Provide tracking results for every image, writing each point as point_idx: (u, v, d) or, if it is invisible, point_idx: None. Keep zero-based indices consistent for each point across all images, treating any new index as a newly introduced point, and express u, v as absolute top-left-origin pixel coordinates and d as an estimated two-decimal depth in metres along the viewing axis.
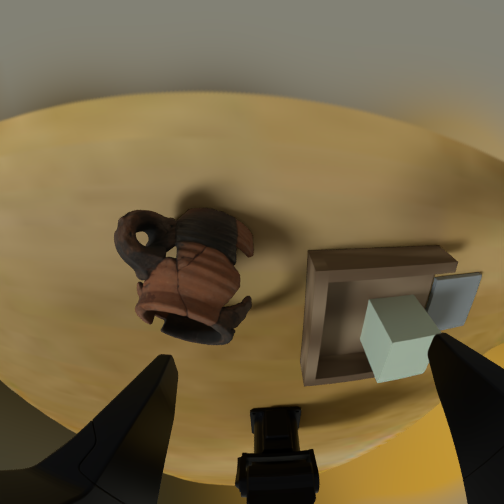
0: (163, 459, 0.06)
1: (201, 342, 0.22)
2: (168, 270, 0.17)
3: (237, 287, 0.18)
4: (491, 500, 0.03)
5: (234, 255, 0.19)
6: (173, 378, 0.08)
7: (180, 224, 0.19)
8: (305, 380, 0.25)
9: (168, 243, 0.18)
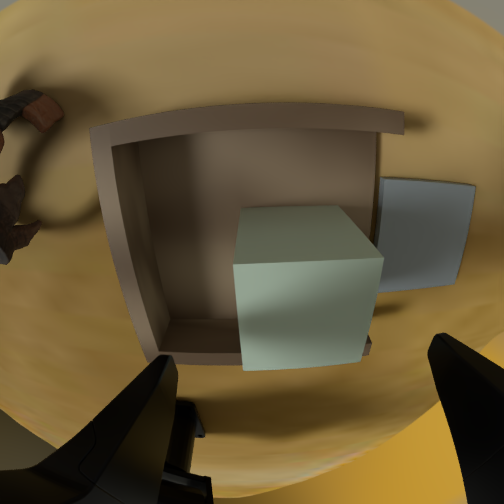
0: (163, 459, 0.06)
1: None
2: None
3: None
4: (491, 500, 0.03)
5: (6, 119, 0.09)
6: (173, 378, 0.08)
7: None
8: (144, 351, 0.15)
9: None
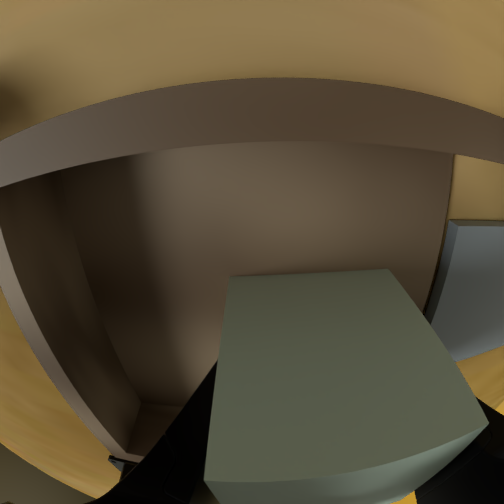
0: None
1: None
2: None
3: None
4: None
5: None
6: None
7: None
8: (109, 448, 0.09)
9: None
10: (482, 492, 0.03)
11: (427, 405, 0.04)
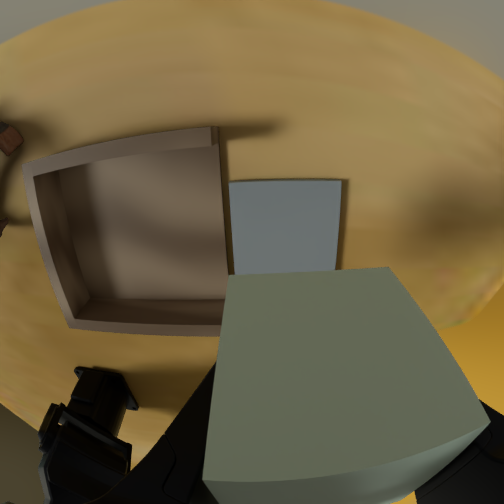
0: None
1: None
2: None
3: None
4: None
5: None
6: None
7: None
8: (66, 318, 0.18)
9: None
10: (482, 492, 0.03)
11: (428, 404, 0.04)
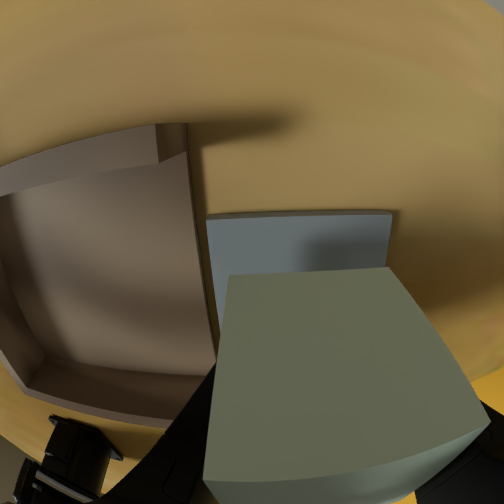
0: None
1: None
2: None
3: None
4: None
5: None
6: None
7: None
8: (18, 384, 0.12)
9: None
10: (482, 492, 0.03)
11: (428, 404, 0.04)
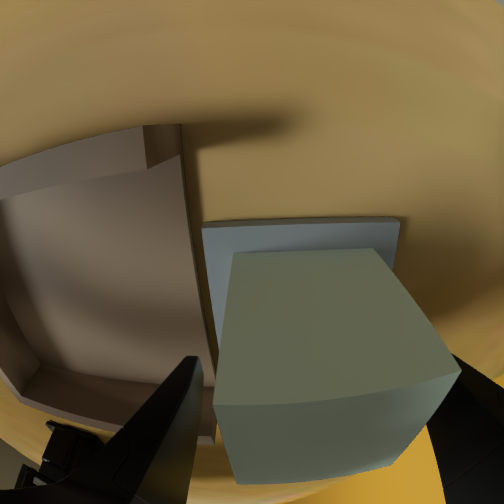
0: (191, 462, 0.06)
1: None
2: None
3: None
4: None
5: None
6: (200, 379, 0.08)
7: None
8: (13, 393, 0.11)
9: None
10: None
11: (403, 351, 0.05)
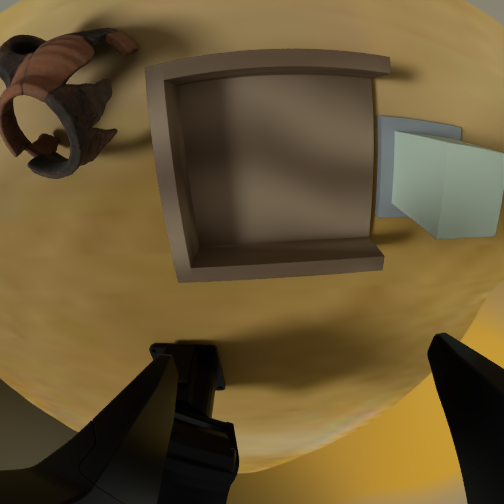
0: (163, 459, 0.06)
1: (62, 169, 0.13)
2: (24, 61, 0.09)
3: (86, 59, 0.10)
4: (491, 500, 0.03)
5: (94, 37, 0.10)
6: (173, 378, 0.08)
7: None
8: (176, 270, 0.17)
9: None
10: None
11: (485, 148, 0.11)
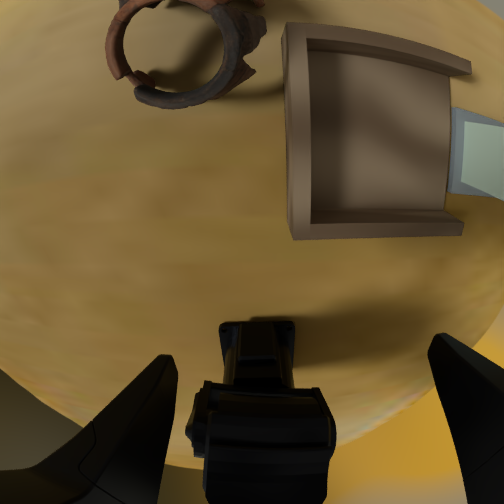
0: (163, 459, 0.06)
1: (191, 95, 0.13)
2: None
3: None
4: (491, 500, 0.03)
5: None
6: (173, 378, 0.08)
7: None
8: (294, 226, 0.17)
9: None
10: None
11: None
